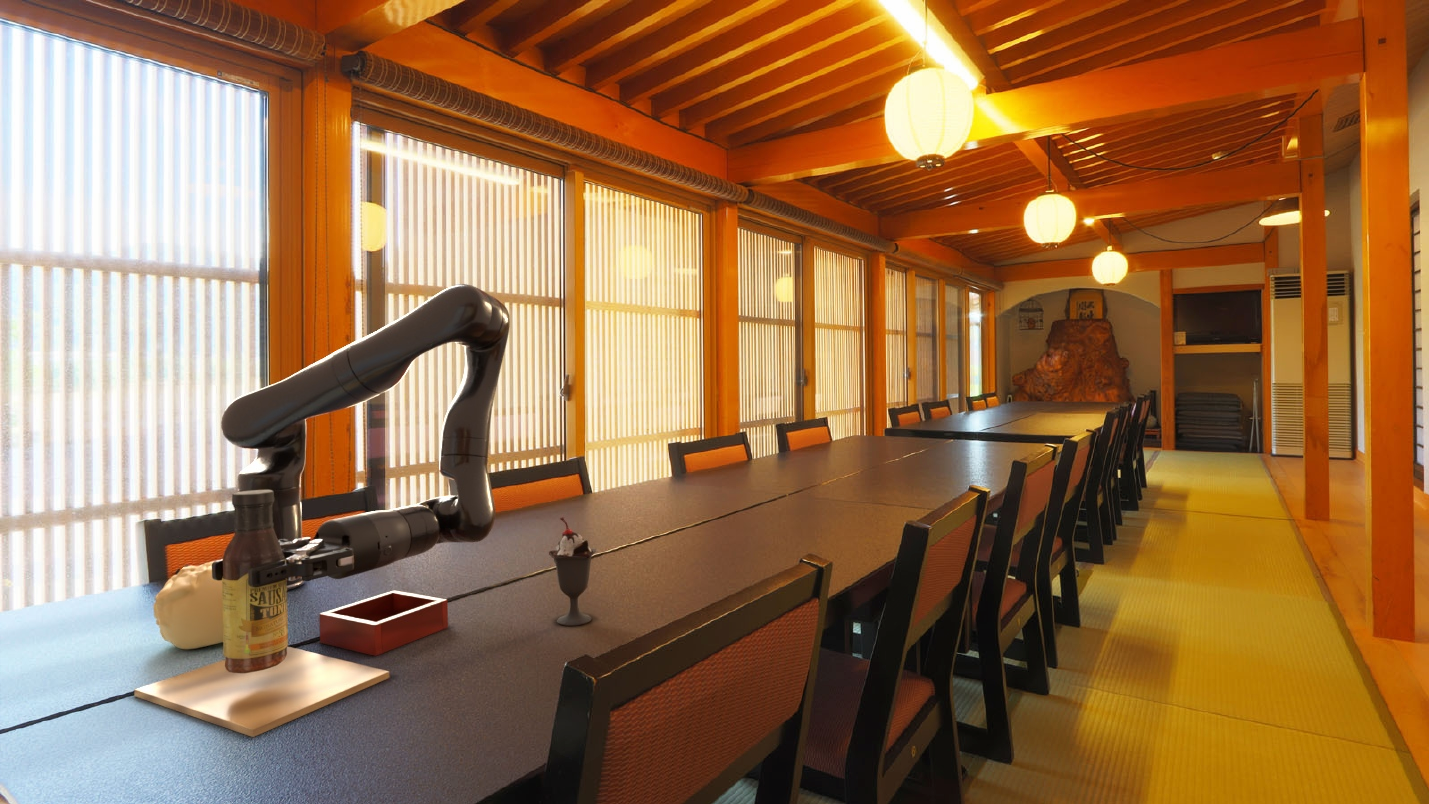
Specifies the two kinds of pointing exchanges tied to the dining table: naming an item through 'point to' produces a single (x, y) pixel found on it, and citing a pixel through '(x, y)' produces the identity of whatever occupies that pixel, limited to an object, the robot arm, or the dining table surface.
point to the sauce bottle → (253, 589)
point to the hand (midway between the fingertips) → (232, 574)
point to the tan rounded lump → (191, 608)
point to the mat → (262, 691)
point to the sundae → (572, 573)
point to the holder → (383, 622)
